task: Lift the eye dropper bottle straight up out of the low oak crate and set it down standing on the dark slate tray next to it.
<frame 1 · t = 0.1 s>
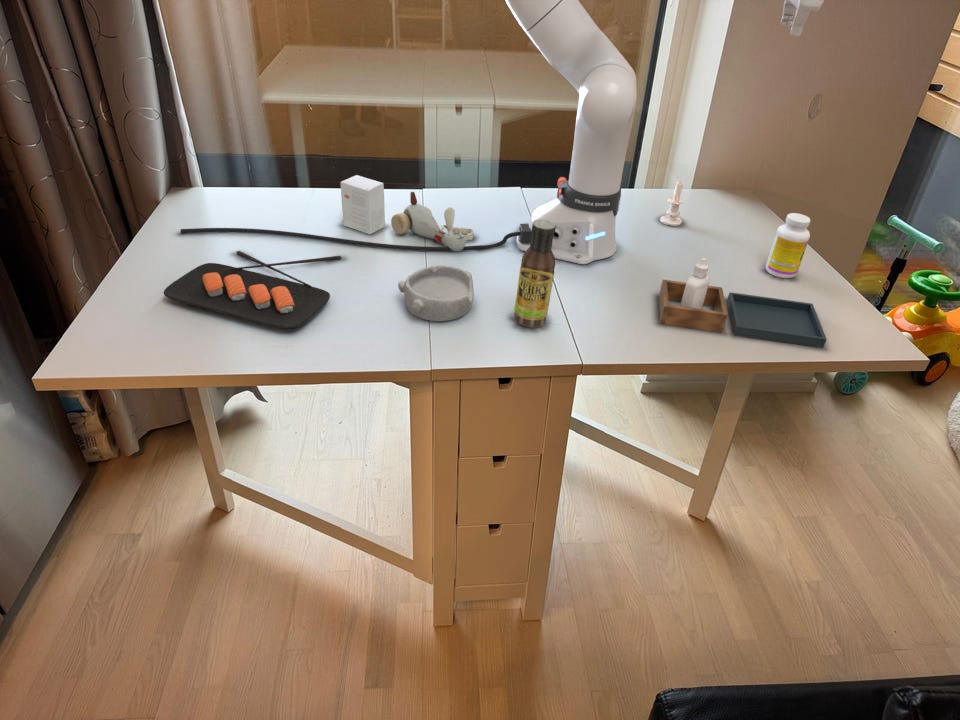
hand: (789, 30, 131), 48 cm above the table, tool pointing down, fingers open, 8 cm apart
sauce bottle: (530, 321, 135), on the table
tray: (772, 323, 139), on the table
sushi plate: (272, 284, 141), on the table
dish: (438, 305, 138), on the table
small box: (364, 227, 164), on the table
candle: (670, 222, 176), on the table
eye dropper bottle: (689, 315, 140), resting in crate
toy dog: (431, 238, 161), on the table
crate: (689, 314, 140), on the table
supplement bottle: (780, 272, 157), on the table
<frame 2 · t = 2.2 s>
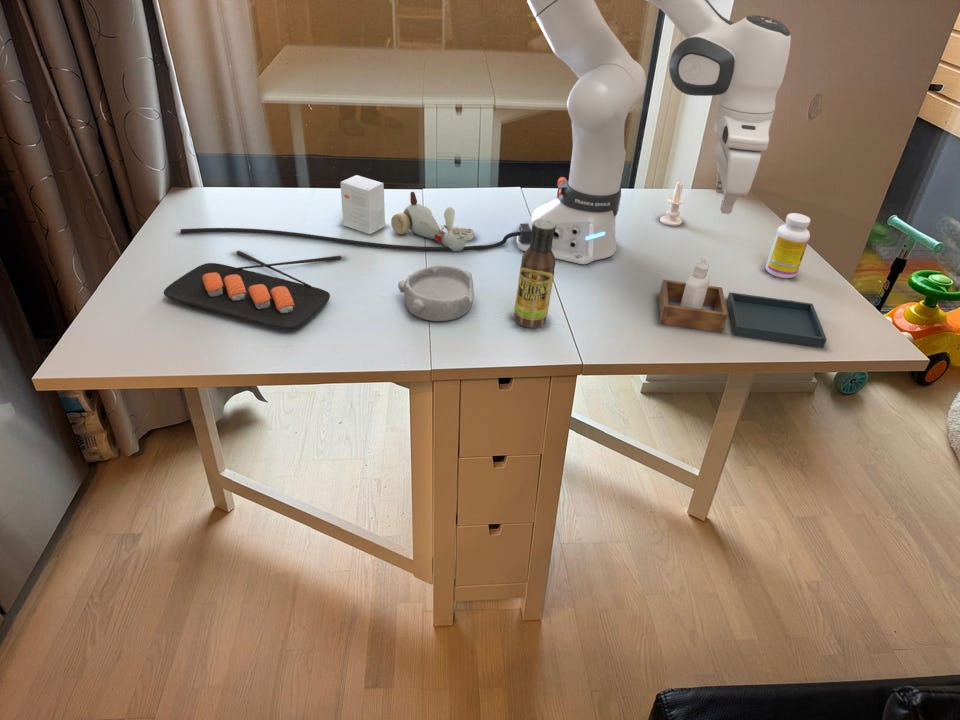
hand: (722, 201, 128), 23 cm above the table, tool pointing down, fingers open, 8 cm apart
nothing on the table moved.
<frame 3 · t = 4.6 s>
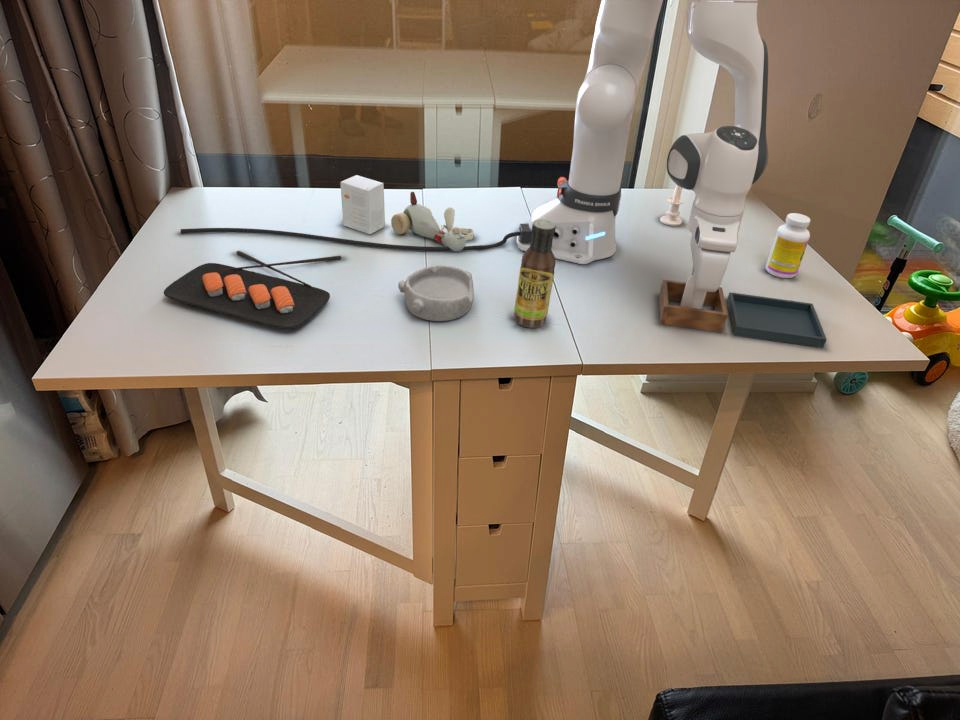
hand: (696, 289, 137), 6 cm above the table, tool pointing down, fingers closed on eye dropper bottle, 5 cm apart
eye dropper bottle: (689, 315, 140), resting in crate, touching gripper
everything else where it was.
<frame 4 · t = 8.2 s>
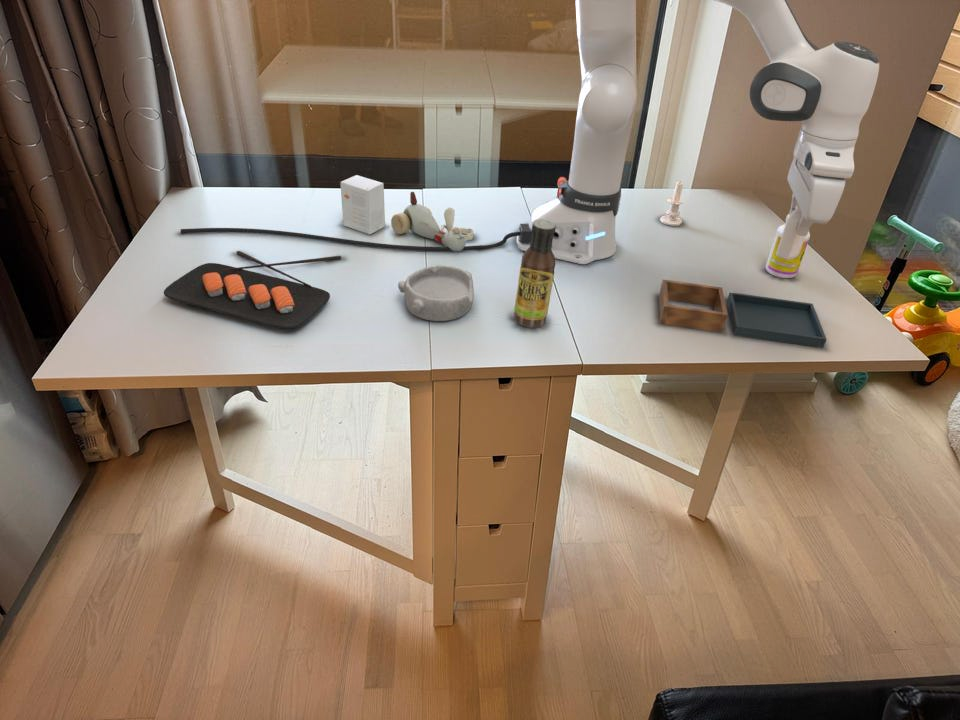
hand: (797, 226, 127), 20 cm above the table, tool pointing down, fingers closed on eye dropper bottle, 5 cm apart
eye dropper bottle: (787, 255, 131), point 14 cm above the table, touching gripper
everything else where it was.
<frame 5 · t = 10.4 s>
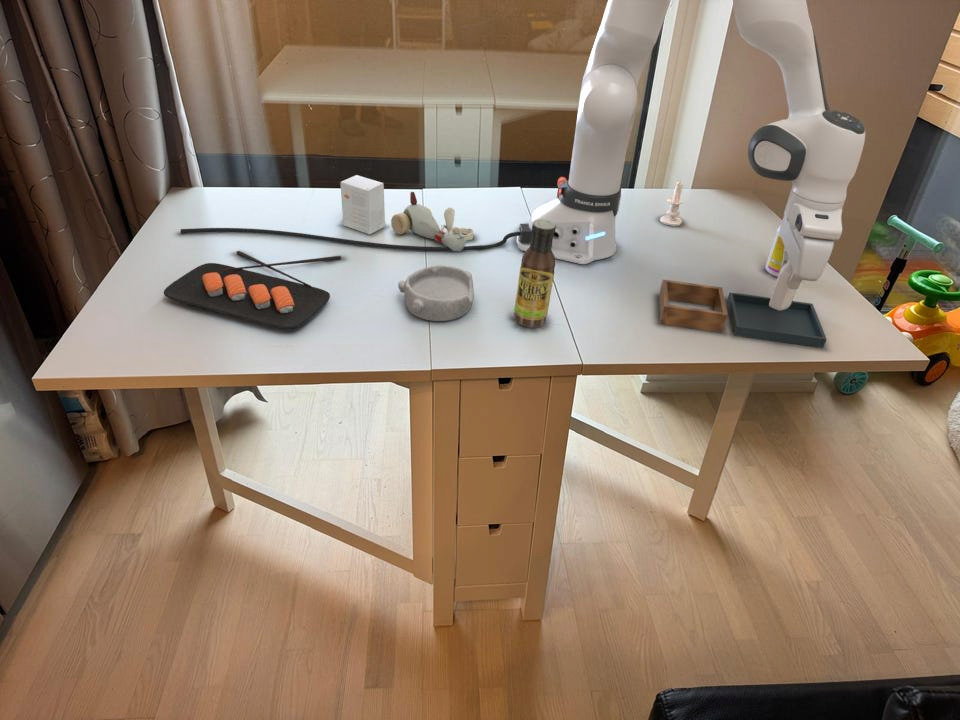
hand: (788, 278, 134), 10 cm above the table, tool pointing down, fingers closed on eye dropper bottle, 5 cm apart
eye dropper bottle: (779, 305, 137), point 4 cm above the table, touching gripper
everything else where it was.
when the fingers open (6 cm above the table, at t = 12.0 s): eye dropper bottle stays where it is, resting on tray.
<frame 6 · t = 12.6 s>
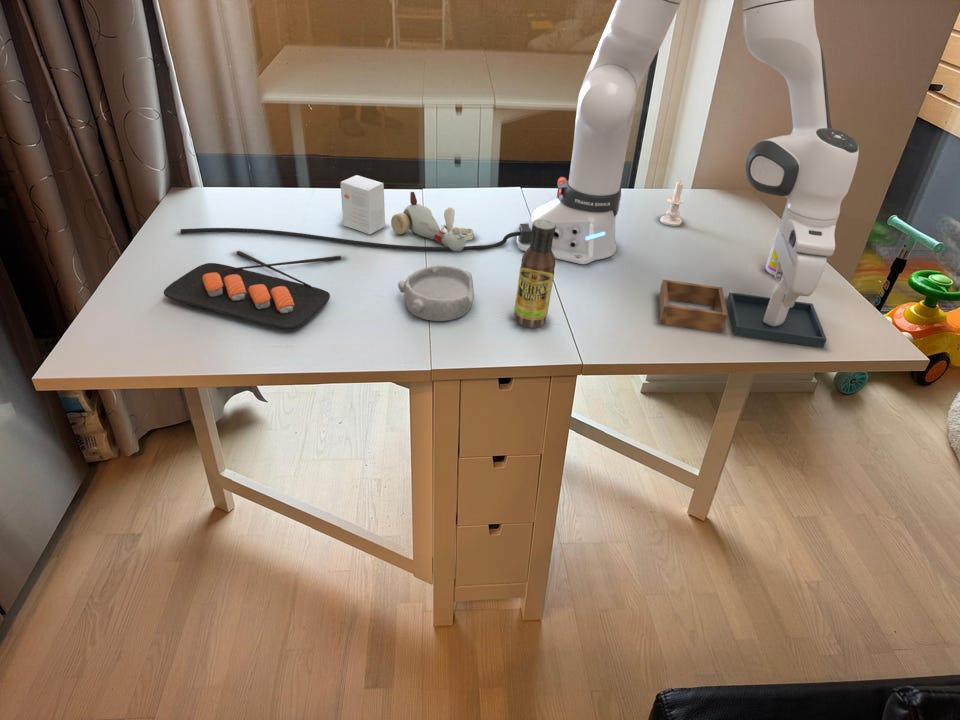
hand: (782, 292, 135), 7 cm above the table, tool pointing down, fingers open, 8 cm apart
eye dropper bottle: (773, 321, 139), resting on tray
everything else where it was.
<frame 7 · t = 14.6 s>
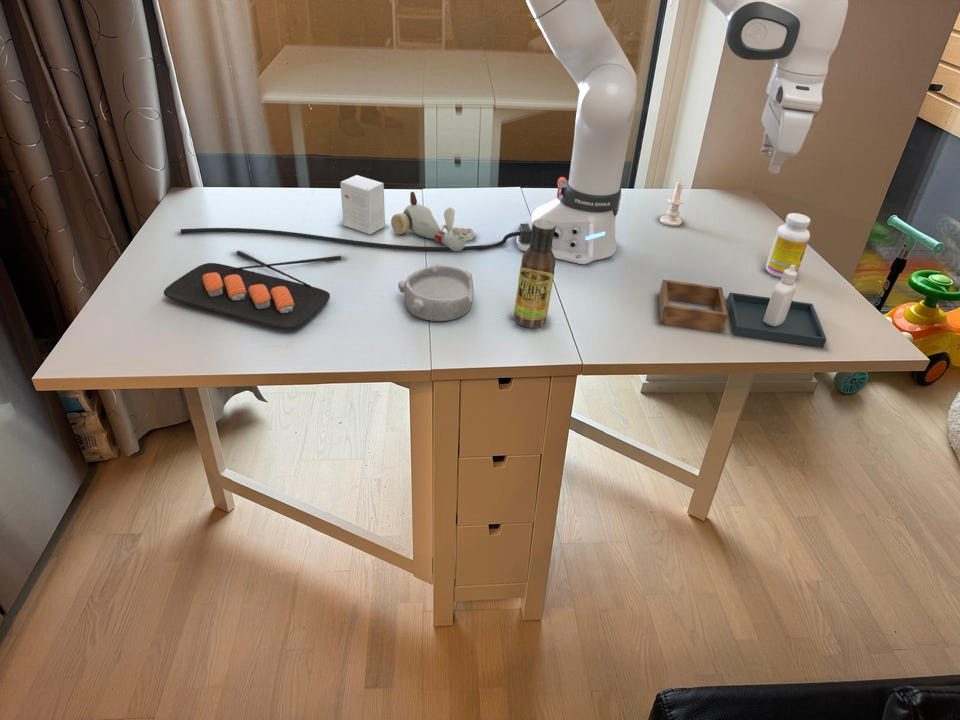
hand: (768, 163, 133), 27 cm above the table, tool pointing down, fingers open, 8 cm apart
nothing on the table moved.
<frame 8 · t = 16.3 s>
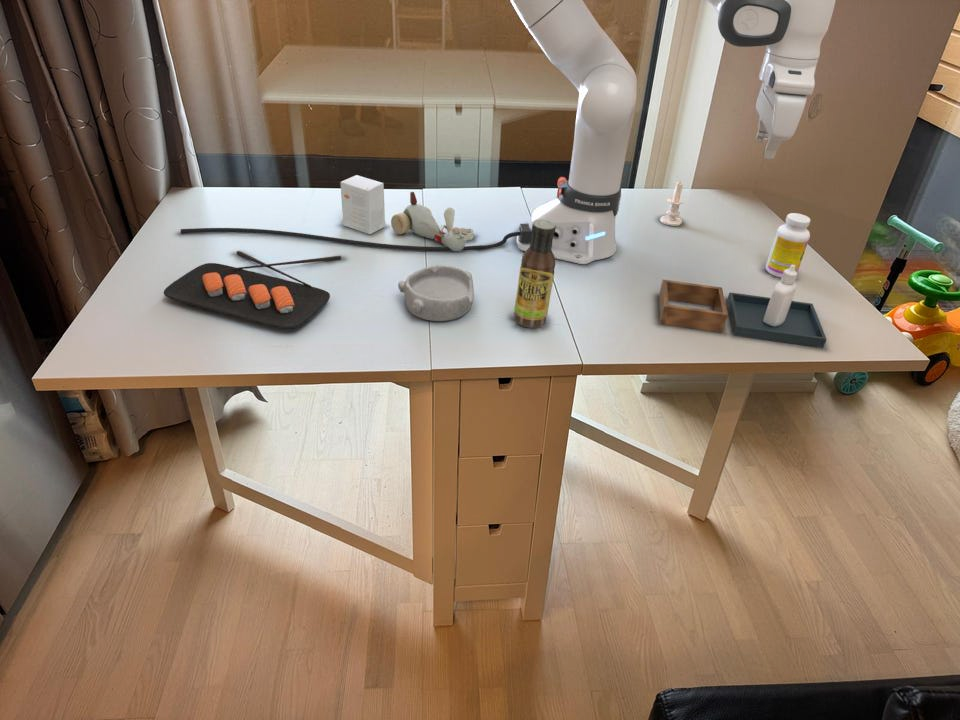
hand: (764, 149, 134), 29 cm above the table, tool pointing down, fingers open, 8 cm apart
nothing on the table moved.
at the end: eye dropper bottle inside the target area in the tray (0.2 cm from its centre), point 0.3 cm above the tray's base; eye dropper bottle tilted 0°; the gripper is holding nothing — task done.
